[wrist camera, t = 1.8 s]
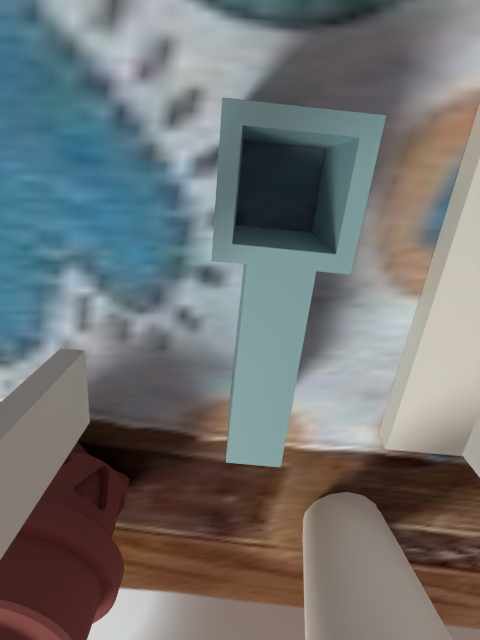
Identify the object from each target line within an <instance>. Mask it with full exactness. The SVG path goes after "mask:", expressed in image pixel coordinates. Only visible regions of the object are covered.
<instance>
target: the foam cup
mask: <svg viewBox="0 0 480 640" xmlns="http://www.w3.org/2000/svg"><path fill="white" fill-rule="evenodd" d="M303 562H304V606H305V640H452V638H451V637H450V635H449V633H448V631H447V629H446V628H445V626H444V624H443V622H442V621H441V619H440V617H439V615H438V613H437V612H436V610H435V608H434V606H433V605H432V603H431V601H430V599H429V597H428V596H427V594H426V592H425V590H424V589H423V587H422V585H421V583H420V581H419V580H418V578H417V576H416V574H415V573H414V571H413V569H412V567H411V566H410V564H409V562H408V560H407V558H406V557H405V555H404V553H403V551H402V550H401V548H400V546H399V544H398V542H397V541H396V539H395V537H394V535H393V534H392V532H391V530H390V528H389V526H388V525H387V523H386V521H385V519H384V518H383V516H382V514H381V512H380V511H379V510H378V509H377V506H376V504H375V503H373V502H372V501H371V500H369V499H368V498H367V497H365V496H363V495H359V494H354V493H350V492H343V493H335V494H329V495H327V496H325V497H323V498H320V499H318V500H316V501H314V502H313V504H312V505H311V506H310V507H309V508H308V509H307V511H306V512H305V515H304V521H303Z"/></svg>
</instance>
